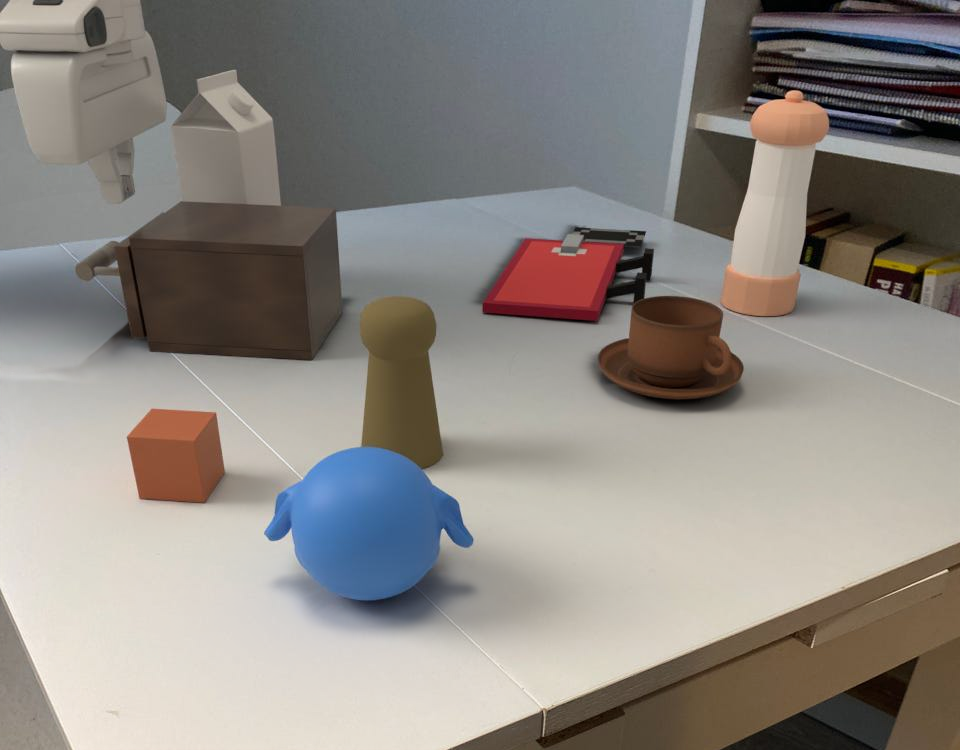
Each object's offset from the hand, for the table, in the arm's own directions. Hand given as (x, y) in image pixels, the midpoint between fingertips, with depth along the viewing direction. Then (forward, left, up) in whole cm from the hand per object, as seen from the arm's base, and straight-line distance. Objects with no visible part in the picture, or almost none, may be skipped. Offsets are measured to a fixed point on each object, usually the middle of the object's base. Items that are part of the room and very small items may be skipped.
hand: (120, 199), depth 88 cm
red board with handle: (+40, +22, -11) cm, 47 cm away
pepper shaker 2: (+58, +15, -11) cm, 61 cm away
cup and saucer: (+48, -7, -11) cm, 50 cm away
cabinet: (+10, 0, -11) cm, 15 cm away
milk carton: (+5, +14, -11) cm, 19 cm away
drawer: (+6, 0, -10) cm, 12 cm away
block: (+14, -30, -11) cm, 35 cm away
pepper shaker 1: (+28, -23, -11) cm, 38 cm away
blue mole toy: (+29, -39, -11) cm, 50 cm away
